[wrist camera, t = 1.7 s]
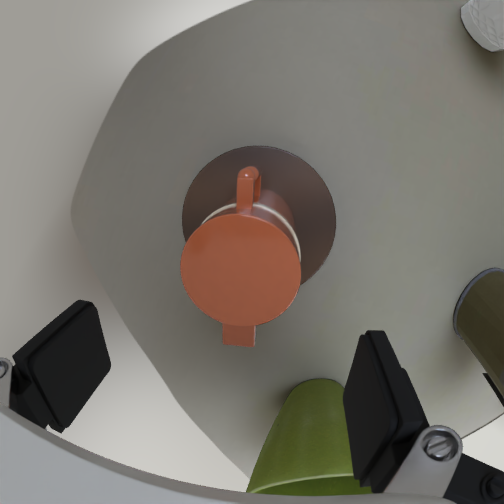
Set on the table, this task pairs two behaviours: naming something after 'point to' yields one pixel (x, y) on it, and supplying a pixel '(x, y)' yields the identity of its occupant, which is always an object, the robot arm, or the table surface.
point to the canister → (484, 324)
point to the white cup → (485, 22)
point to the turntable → (278, 181)
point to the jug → (244, 260)
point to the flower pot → (308, 446)
